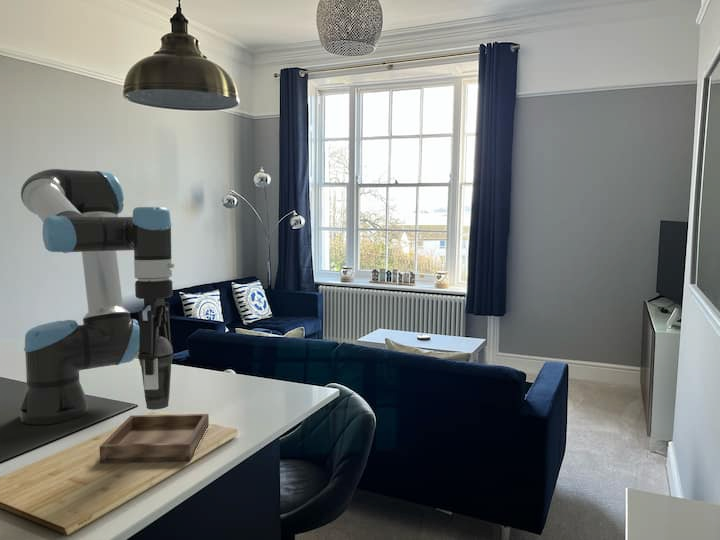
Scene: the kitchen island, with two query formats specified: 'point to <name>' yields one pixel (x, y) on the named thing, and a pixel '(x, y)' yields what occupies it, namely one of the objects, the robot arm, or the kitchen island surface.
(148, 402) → the beverage cup
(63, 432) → the kitchen island surface
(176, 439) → the serving tray
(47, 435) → the kitchen island surface
